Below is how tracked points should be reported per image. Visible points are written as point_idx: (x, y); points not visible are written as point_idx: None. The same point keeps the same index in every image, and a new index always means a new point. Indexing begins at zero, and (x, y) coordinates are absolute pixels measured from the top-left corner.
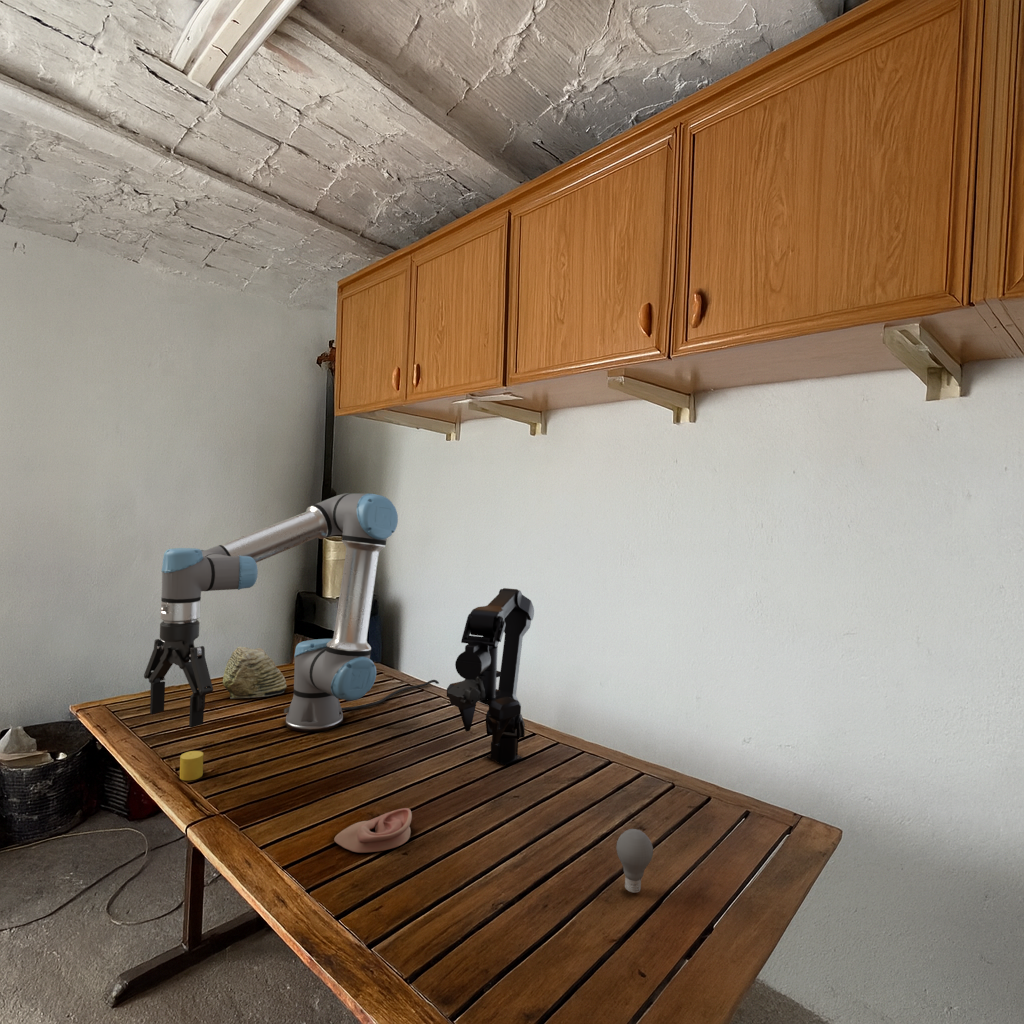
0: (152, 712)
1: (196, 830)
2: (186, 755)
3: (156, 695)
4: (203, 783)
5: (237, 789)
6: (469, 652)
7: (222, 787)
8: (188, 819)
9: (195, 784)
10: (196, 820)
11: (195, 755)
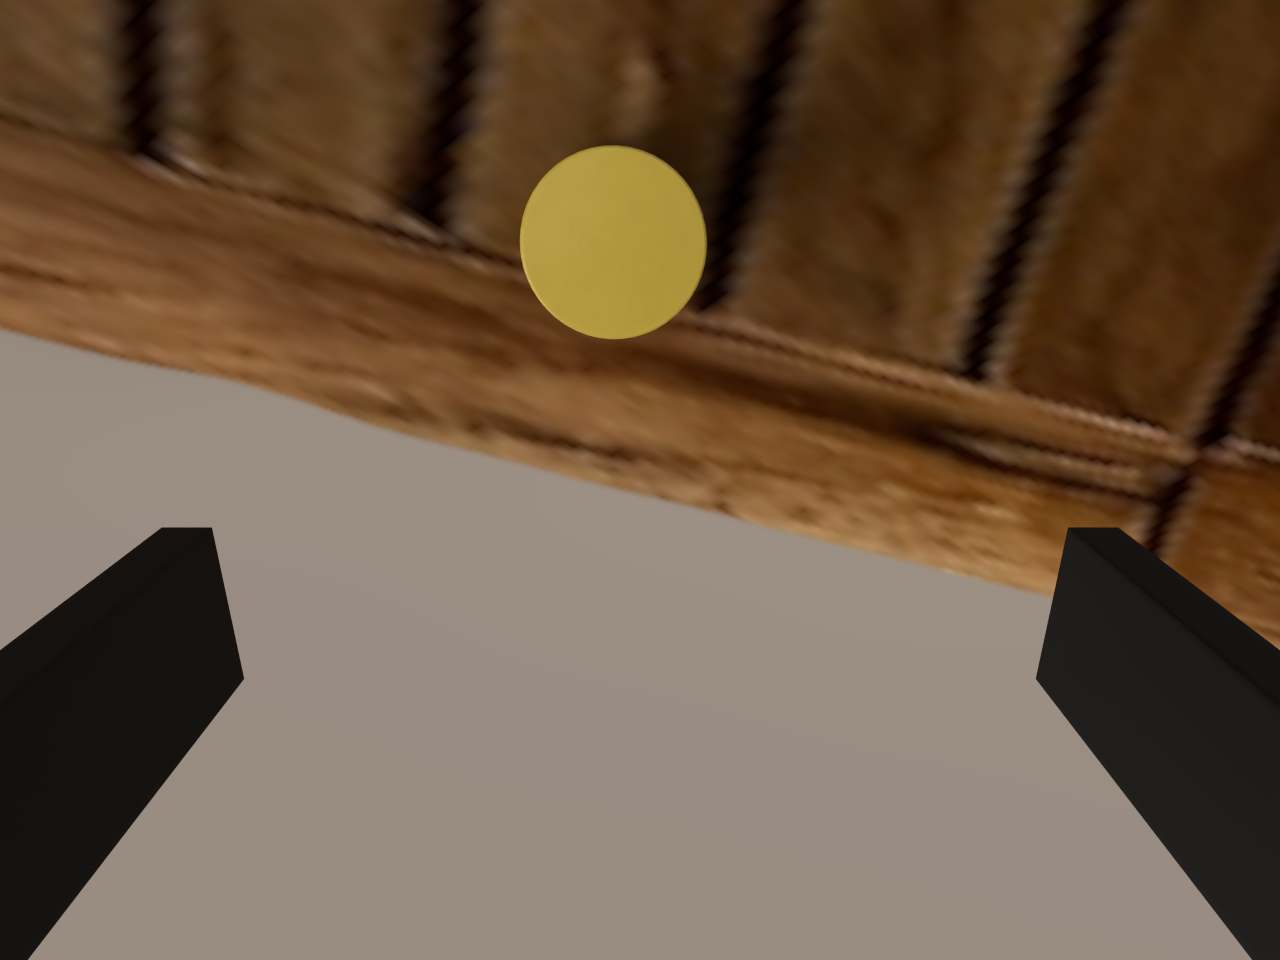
0: (229, 686)
1: None
2: (589, 284)
3: (68, 821)
4: (791, 253)
5: (1077, 176)
6: None
7: (957, 217)
8: None
9: (757, 295)
10: None
11: (652, 238)
